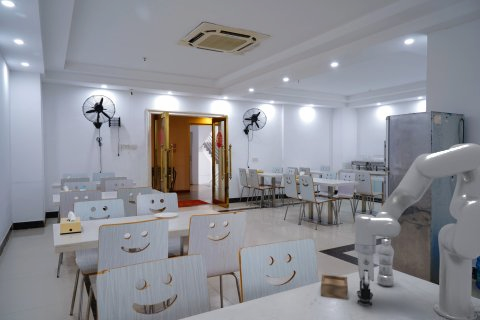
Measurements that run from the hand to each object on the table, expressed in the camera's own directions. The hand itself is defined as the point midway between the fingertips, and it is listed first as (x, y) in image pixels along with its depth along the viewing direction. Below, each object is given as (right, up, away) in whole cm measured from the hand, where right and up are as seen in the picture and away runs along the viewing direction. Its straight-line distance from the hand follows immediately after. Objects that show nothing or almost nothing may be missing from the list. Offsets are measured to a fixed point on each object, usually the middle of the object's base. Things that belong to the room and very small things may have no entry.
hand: (364, 294), depth 123 cm
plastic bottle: (+16, -3, +17) cm, 23 cm away
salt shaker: (0, -3, 0) cm, 3 cm away
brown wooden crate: (-9, -3, +9) cm, 13 cm away
